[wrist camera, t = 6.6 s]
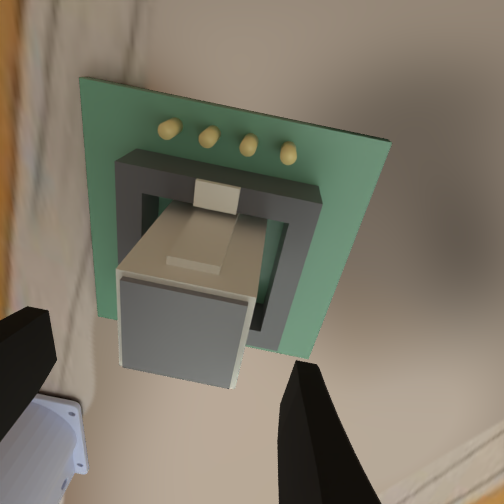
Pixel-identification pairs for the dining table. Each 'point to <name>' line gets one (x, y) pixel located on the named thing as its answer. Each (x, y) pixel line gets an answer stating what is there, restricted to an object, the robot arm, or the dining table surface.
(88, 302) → the dining table surface
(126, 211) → the header socket
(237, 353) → the plug
